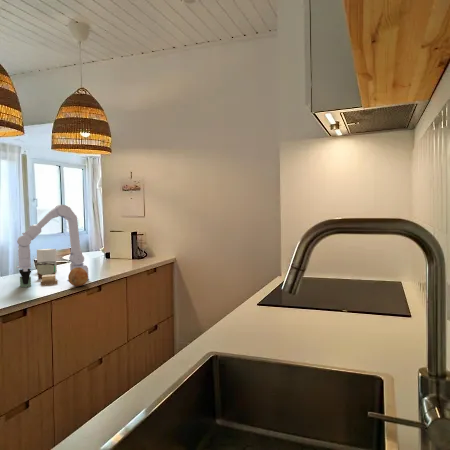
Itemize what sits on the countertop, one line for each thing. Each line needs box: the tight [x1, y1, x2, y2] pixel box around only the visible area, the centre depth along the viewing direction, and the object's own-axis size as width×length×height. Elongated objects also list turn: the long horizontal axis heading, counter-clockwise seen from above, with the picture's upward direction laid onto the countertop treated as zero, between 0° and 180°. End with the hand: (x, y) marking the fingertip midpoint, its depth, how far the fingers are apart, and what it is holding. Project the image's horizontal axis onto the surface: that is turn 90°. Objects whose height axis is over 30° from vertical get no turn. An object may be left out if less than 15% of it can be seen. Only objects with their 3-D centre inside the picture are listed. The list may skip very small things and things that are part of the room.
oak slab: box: [41, 273, 57, 282], centre depth 215 cm, size 6×6×2 cm
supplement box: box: [36, 248, 58, 272], centre depth 261 cm, size 9×9×15 cm
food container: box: [35, 261, 58, 280], centre depth 232 cm, size 12×6×10 cm, turn 84°
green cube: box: [19, 275, 32, 288], centre depth 209 cm, size 5×5×5 cm
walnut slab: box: [40, 278, 59, 286], centre depth 215 cm, size 8×8×2 cm
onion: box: [67, 267, 89, 287], centre depth 205 cm, size 10×10×10 cm
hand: (25, 283), depth 209 cm, fingers open, 6 cm apart
